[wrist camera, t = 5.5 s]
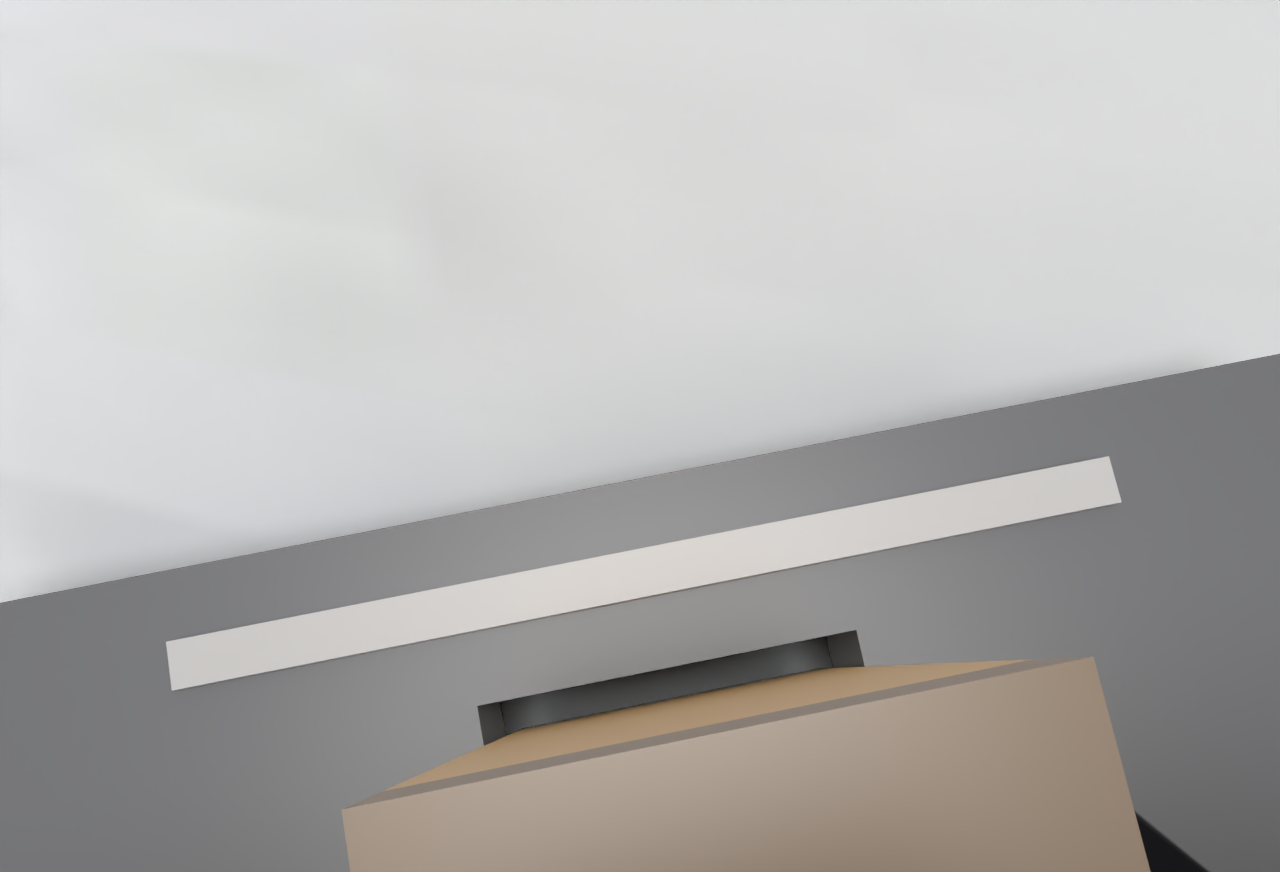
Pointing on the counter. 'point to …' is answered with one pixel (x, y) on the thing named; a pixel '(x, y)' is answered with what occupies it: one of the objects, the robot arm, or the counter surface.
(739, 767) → the plug
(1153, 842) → the robot arm
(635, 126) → the counter surface
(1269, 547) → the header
